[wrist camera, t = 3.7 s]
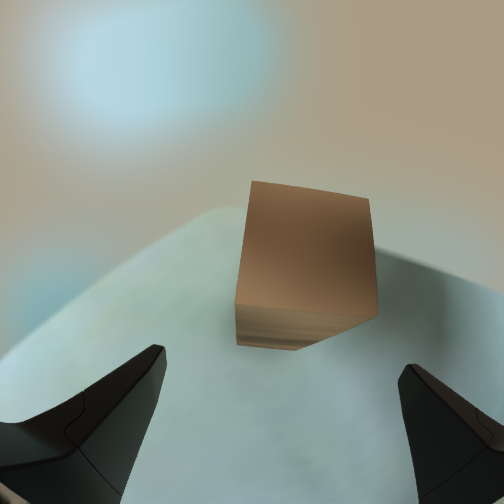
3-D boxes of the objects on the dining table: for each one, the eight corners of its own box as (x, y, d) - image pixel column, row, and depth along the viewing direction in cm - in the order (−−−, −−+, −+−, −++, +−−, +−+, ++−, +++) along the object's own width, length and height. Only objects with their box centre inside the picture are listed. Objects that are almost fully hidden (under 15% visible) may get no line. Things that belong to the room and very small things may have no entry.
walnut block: (295, 350, 20) (377, 316, 8) (236, 344, 20) (234, 303, 8) (299, 295, 21) (368, 198, 10) (244, 288, 21) (252, 180, 10)
